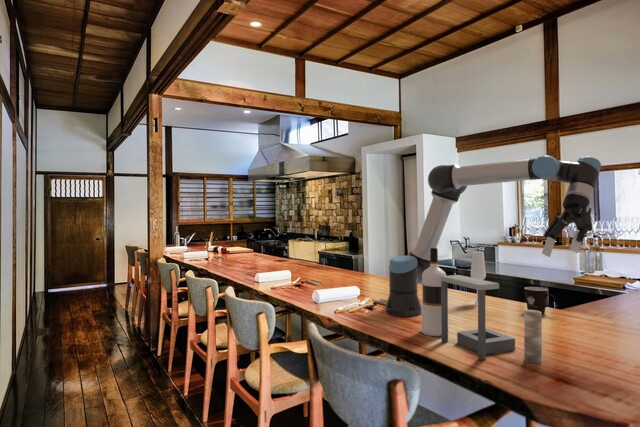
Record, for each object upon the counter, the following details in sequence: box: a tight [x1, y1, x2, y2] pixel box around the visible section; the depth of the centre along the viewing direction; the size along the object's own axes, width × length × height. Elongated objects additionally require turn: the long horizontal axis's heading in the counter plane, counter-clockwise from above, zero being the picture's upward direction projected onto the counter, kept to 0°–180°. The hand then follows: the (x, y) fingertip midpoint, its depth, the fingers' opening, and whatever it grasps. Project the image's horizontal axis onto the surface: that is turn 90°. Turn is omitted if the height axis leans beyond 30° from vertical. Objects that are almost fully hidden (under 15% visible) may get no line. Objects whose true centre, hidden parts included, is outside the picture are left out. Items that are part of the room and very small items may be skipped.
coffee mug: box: [524, 286, 556, 315], centre depth 171 cm, size 12×9×10 cm
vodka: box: [420, 248, 447, 338], centre depth 144 cm, size 9×9×30 cm
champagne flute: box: [470, 251, 487, 306], centre depth 191 cm, size 7×7×24 cm
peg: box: [523, 309, 543, 364], centre depth 117 cm, size 4×4×14 cm
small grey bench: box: [441, 274, 500, 361], centre depth 128 cm, size 7×19×22 cm, turn 20°
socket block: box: [456, 327, 516, 355], centre depth 130 cm, size 12×12×4 cm
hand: (559, 253), depth 137 cm, fingers open, 13 cm apart
